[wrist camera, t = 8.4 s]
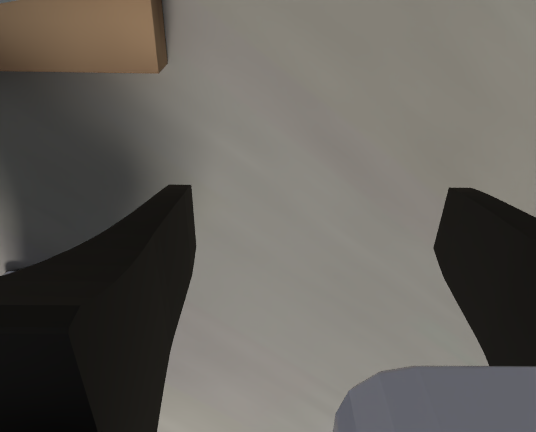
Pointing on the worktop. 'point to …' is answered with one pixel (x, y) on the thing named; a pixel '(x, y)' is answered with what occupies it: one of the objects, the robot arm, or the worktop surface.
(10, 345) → the robot arm
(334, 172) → the worktop surface
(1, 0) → the block
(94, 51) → the base
